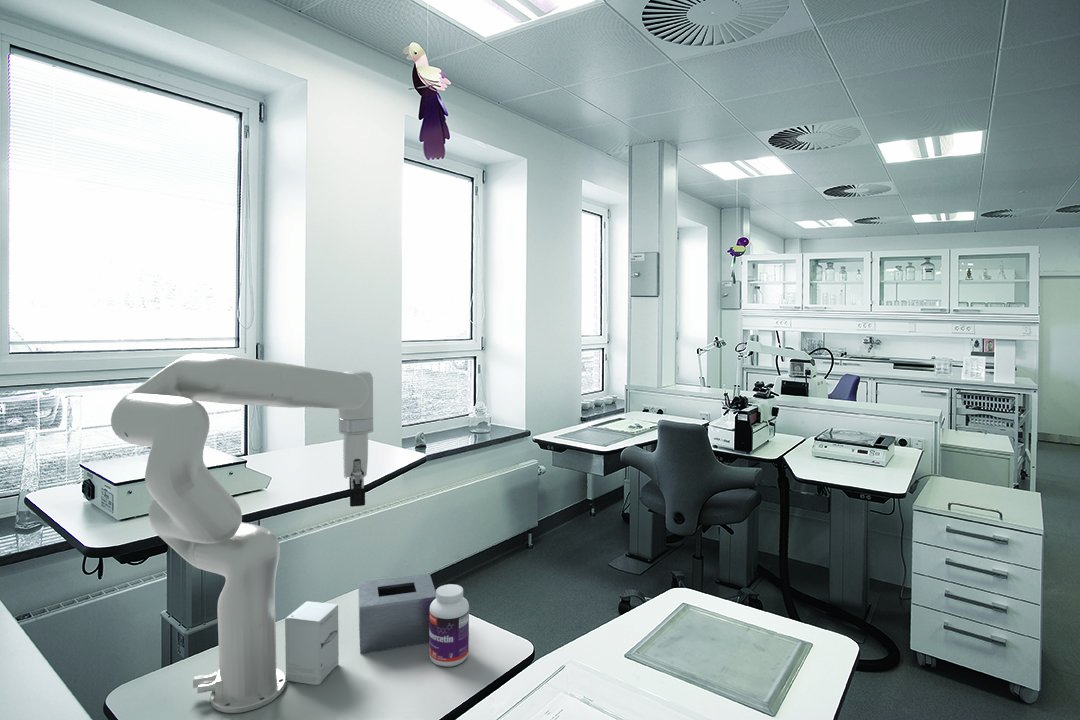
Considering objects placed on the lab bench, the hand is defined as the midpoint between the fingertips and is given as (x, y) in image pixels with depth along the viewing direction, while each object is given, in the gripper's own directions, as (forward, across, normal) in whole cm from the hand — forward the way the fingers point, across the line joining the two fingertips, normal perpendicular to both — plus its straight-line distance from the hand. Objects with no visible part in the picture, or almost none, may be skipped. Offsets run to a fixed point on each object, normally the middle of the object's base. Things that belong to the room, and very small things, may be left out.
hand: (357, 499), depth 135 cm
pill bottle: (+28, +22, +17) cm, 40 cm away
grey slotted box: (+28, +9, +8) cm, 31 cm away
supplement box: (+28, +19, -9) cm, 35 cm away
